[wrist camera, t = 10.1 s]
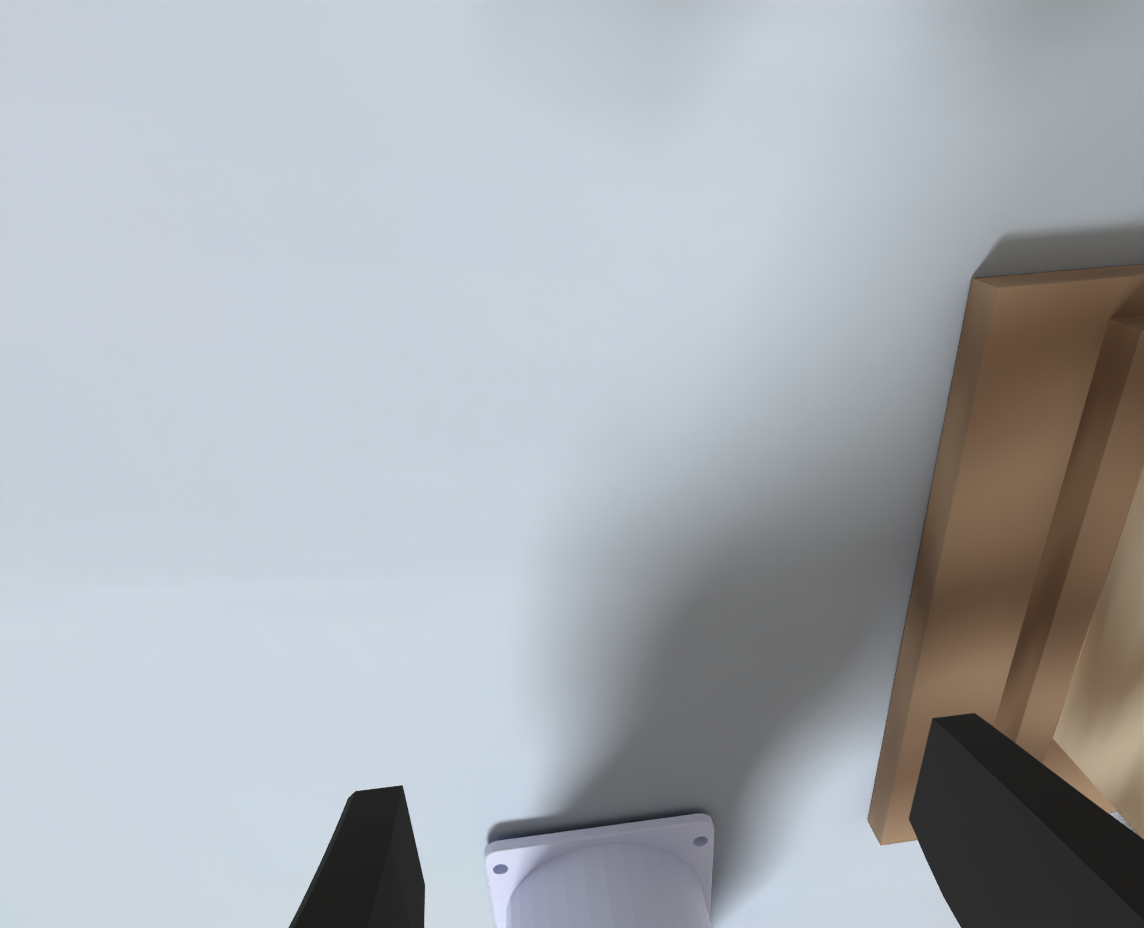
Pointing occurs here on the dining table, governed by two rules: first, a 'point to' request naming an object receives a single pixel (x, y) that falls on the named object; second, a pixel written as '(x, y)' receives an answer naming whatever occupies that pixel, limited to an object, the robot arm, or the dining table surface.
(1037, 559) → the picture ledge
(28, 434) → the dining table surface
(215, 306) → the dining table surface
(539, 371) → the dining table surface
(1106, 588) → the beige long rectangular block
